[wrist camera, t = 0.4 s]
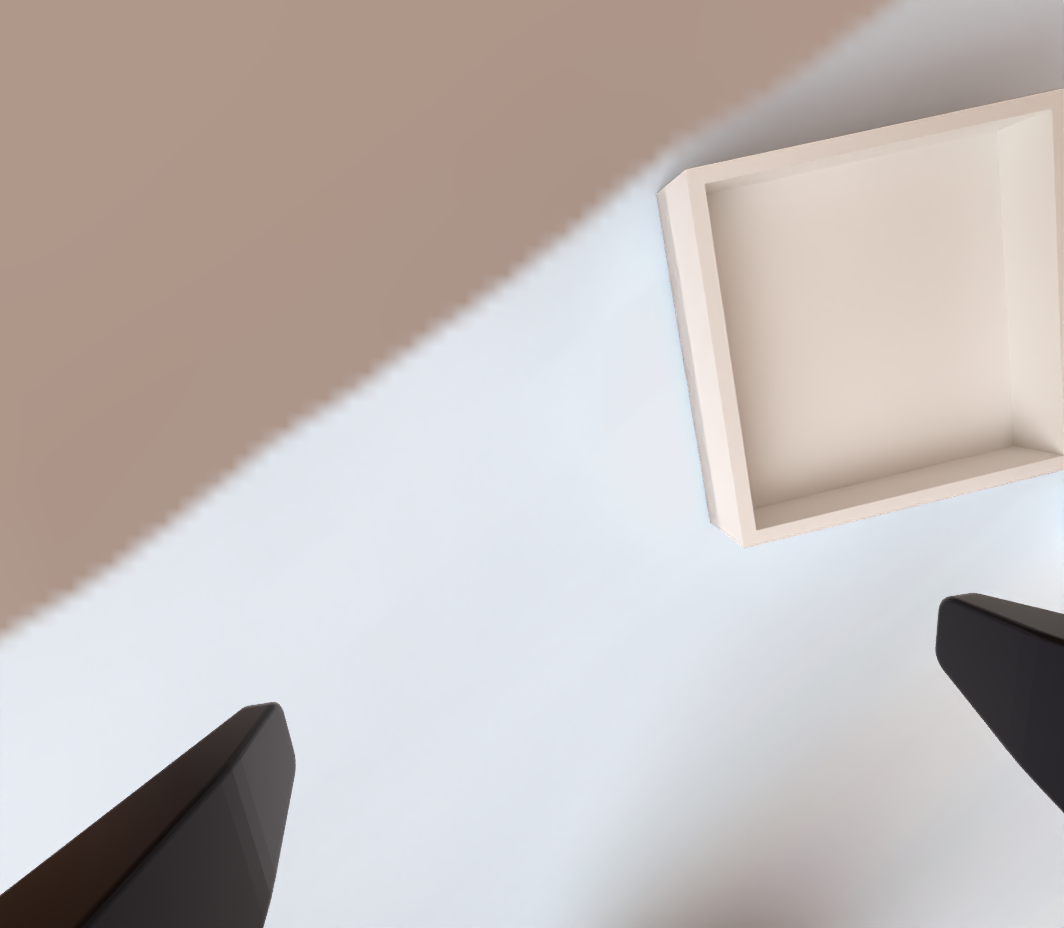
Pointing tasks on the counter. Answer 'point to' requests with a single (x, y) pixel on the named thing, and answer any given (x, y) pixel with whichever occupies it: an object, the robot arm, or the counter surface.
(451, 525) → the counter surface
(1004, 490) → the counter surface
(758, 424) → the tray
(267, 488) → the counter surface
